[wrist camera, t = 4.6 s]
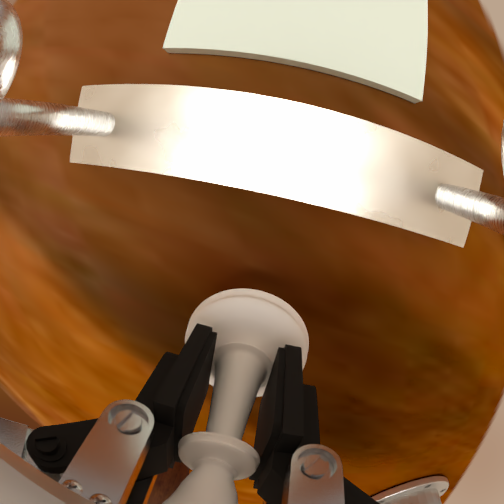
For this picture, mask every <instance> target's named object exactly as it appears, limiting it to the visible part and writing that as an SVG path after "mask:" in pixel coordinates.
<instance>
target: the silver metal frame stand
mask: <svg viewBox="0 0 504 504" xmlns="http://www.w3.org/2000/svg"><path fill="white" fill-rule="evenodd" d="M21 51H22V29H21V23H20V19H19V17H18V15H17V12H16V11H15V9H14V7H13V6H12V5H11V4H10V3H9V2H8V1H7V0H0V136H21V135H73V139H72V147H71V155H70V162H73V163H82V164H91V165H99V166H108V167H115V168H123V169H130V170H137V171H144V172H151V173H158V174H164V175H170V176H176V177H182V178H188V179H194V180H199V181H205V182H210V183H216V184H221V185H226V186H231V187H236V188H241V189H246V190H251V191H256V192H261V193H265V194H270V195H275V196H279V197H284V198H288V199H292V200H297V201H301V202H305V203H309V204H314V205H318V206H322V207H326V208H330V209H334V210H338V211H342V212H345V213H349V214H353V215H357V216H360V217H364V218H368V219H371V220H375V221H379V222H382V223H386V224H389V225H393V226H396V227H400V228H403V229H406V230H410V231H413V232H416V233H419V234H423V235H426V236H429V237H432V238H435V239H438V240H442V241H445V242H448V243H451V244H454V245H457V246H460V247H464V244H465V241H466V238H467V235H468V231H469V228H470V225H471V221H473V222H475V223H478V224H480V225H482V226H484V227H487V228H489V229H491V230H493V231H496V232H498V233H500V234H502V235H504V198H502V197H499V196H495V195H492V194H488V193H484V192H480V191H479V189H480V184H481V179H482V174H483V170H482V169H480V168H478V167H476V166H474V165H472V164H470V163H468V162H466V161H464V160H462V159H460V158H458V157H456V156H454V155H452V154H450V153H448V152H446V151H443V150H441V149H439V148H437V147H434V146H432V145H430V144H427V143H425V142H423V141H420V140H418V139H415V138H413V137H410V136H408V135H405V134H402V133H400V132H397V131H394V130H392V129H389V128H386V127H383V126H380V125H377V124H374V123H371V122H368V121H365V120H362V119H359V118H356V117H352V116H349V115H346V114H342V113H339V112H335V111H331V110H327V109H324V108H320V107H316V106H312V105H307V104H303V103H299V102H294V101H289V100H285V99H280V98H274V97H269V96H264V95H258V94H252V93H245V92H238V91H231V90H223V89H214V88H205V87H193V86H180V85H159V84H111V85H91V86H82V90H81V95H80V99H79V104H78V107H76V106H69V105H62V104H55V103H48V102H39V101H30V100H20V99H7V98H4V96H5V95H6V93H7V91H8V90H9V88H10V86H11V84H12V82H13V80H14V77H15V75H16V72H17V69H18V66H19V62H20V57H21ZM501 155H502V166H503V174H504V122H503V129H502V138H501Z"/></svg>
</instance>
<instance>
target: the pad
mask: <svg viewBox="0 0 504 504" xmlns="http://www.w3.org/2000/svg"><path fill="white" fill-rule="evenodd" d="M427 32H428V3H427V0H178V2H177V5H176V8H175V10H174V13H173V16H172V19H171V22H170V25H169V29H168V32H167V35H166V38H165V42H164V45H163V49H164V50H166V51H167V52H168V53H190V54H209V55H222V56H232V57H241V58H249V59H256V60H263V61H269V62H275V63H281V64H286V65H291V66H296V67H301V68H305V69H310V70H314V71H318V72H322V73H326V74H330V75H334V76H337V77H341V78H345V79H348V80H351V81H355V82H358V83H361V84H364V85H367V86H370V87H373V88H376V89H379V90H382V91H385V92H387V93H390V94H393V95H395V96H398V97H400V98H403V99H405V100H408V101H410V102H413V103H418V102H420V101H422V98H423V89H424V80H425V69H426V55H427Z"/></svg>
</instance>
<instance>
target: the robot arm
mask: <svg viewBox="0 0 504 504" xmlns="http://www.w3.org/2000/svg"><path fill="white" fill-rule="evenodd" d="M216 339H217V332H213V331H212V327H210V326H206V325H202V324H198V323H197V324H196V326H195V327H194V329H193V331H192V333H191V335H190V336H189V338H188V340H187V342H186V343H185V345H184V347H183V349H182V351H181V352H180V354H179V355H176V354H173V353H170V352H166V353H165V354H164V355H163V357H162V358H161V360H160V362H159V363H158V365H157V366H156V368H155V370H154V371H153V373H152V374H151V376H150V377H149V379H148V381H147V382H146V384H145V385H144V387H143V389H142V390H141V392H140V394H139V395H138V397H137V398H136V400H135V401H133V400H119V401H115V402H113V403H111V404H109V405H108V406H107V407H106V408H105V410H104V411H103V413H102V414H101V416H100V417H99V418H98V419H92V420H86V421H80V422H74V423H67V424H59V425H51V426H43V427H39V428H37V429H35V430H33V429H30V428H29V426H28V425H24V424H20V423H17V422H13V421H10V420H6V419H3V418H0V504H147V502H148V499H149V496H150V494H151V491H152V488H153V486H154V483H155V481H156V478H157V475H158V474H161V473H164V472H167V471H168V468H172V469H173V467H174V464H175V462H179V463H181V462H182V461H181V459H180V457H179V455H178V450H179V449H178V444H179V441H180V439H181V438H182V437H184V436H185V435H188V434H190V433H193V430H194V427H195V424H196V421H197V419H198V416H199V413H200V410H201V408H202V405H203V402H204V399H205V397H206V394H207V390H208V386H209V380H210V374H211V368H212V362H213V356H214V351H215V345H216ZM254 449H255V450H256V451H257V453H258V455H259V457H260V464H259V466H258V467H257V468H256V471H255V472H254V474H252V475H251V476H249V479H250V480H255V481H254V488H256V489H258V491H257V493H258V494H259V495H260V496H261V497H262V498H263V499H264V501H263V504H441V500H440V496H442V495H443V494H444V493H445V492H446V490H447V489H448V487H449V482H448V479H447V478H446V477H444V476H432V477H426V478H422V479H418V480H415V481H412V482H408V483H405V484H402V485H399V486H397V487H394V488H391V489H389V490H386V491H384V492H382V493H379V494H377V495H375V496H373V497H370V496H369V495H367V494H366V493H364V492H363V491H362V490H360V489H359V488H358V487H356V486H355V485H354V484H352V483H351V482H350V481H349V480H347V479H346V478H345V477H343V467H342V462H341V459H340V457H339V456H338V454H337V453H336V452H334V451H333V450H332V449H330V448H328V447H326V446H324V445H320V435H319V420H318V406H317V393H316V387H315V386H311V385H305V384H303V372H302V349H301V347H297V346H292V345H287V344H286V345H285V347H284V348H282V347H279V348H278V351H277V354H276V357H275V360H274V363H273V366H272V370H271V373H270V376H269V379H268V382H267V385H266V388H265V391H264V394H263V397H262V400H261V404H260V410H259V416H258V423H257V430H256V437H255V443H254Z"/></svg>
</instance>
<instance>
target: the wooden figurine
mask: <svg viewBox="0 0 504 504" xmlns="http://www.w3.org/2000/svg"><path fill="white" fill-rule="evenodd" d="M188 475H189V467H187V466H186V465H185V464H184V463H183V462H181V463H179V462H175V464H174V467H173V469H172V468H168V471H167V472H164V473H161V474H158V475H157V478H156V481H155V483H154V486H153V488H152V491H151V494H150V496H149V499H148V502H147V504H162V503H163V502H164V501H165V500H167V499H168V498H169V497H170V496H171V495H172V494H173V493H174V492H175V491H176V489H177V488H178V487H179V485H180V484H181V482H182V481H183V480H184V479H185V478H186V477H187V476H188Z"/></svg>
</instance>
